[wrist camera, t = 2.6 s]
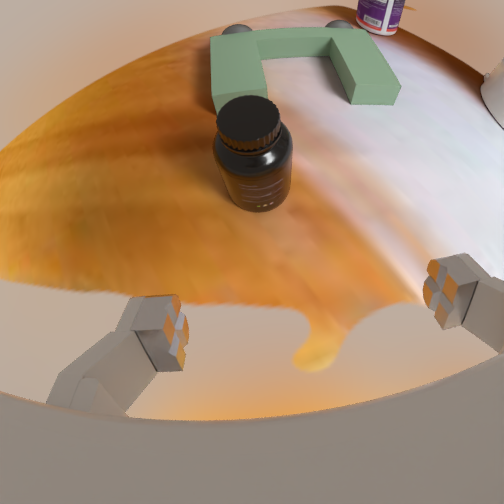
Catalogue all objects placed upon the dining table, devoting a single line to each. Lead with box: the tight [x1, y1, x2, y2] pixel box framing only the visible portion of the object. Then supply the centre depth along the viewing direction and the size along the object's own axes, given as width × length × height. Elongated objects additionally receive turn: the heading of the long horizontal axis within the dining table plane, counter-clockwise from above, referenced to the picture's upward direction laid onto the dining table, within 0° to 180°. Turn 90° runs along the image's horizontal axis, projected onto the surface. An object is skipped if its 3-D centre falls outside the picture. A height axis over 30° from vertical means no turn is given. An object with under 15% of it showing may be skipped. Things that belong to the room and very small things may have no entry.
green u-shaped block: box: [210, 20, 401, 115], centre depth 33 cm, size 24×15×5 cm, turn 96°
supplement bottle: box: [213, 95, 293, 213], centre depth 26 cm, size 7×7×12 cm
